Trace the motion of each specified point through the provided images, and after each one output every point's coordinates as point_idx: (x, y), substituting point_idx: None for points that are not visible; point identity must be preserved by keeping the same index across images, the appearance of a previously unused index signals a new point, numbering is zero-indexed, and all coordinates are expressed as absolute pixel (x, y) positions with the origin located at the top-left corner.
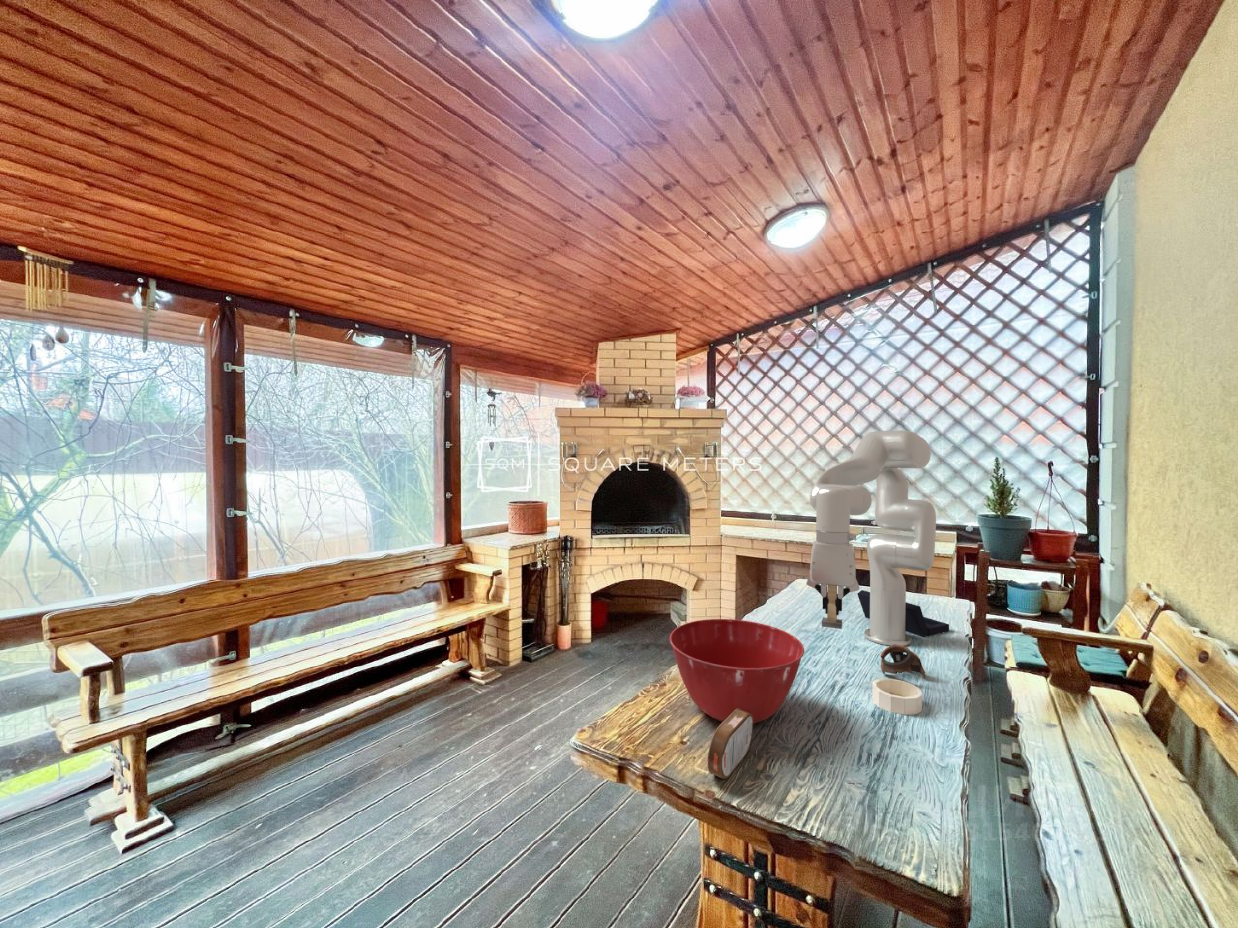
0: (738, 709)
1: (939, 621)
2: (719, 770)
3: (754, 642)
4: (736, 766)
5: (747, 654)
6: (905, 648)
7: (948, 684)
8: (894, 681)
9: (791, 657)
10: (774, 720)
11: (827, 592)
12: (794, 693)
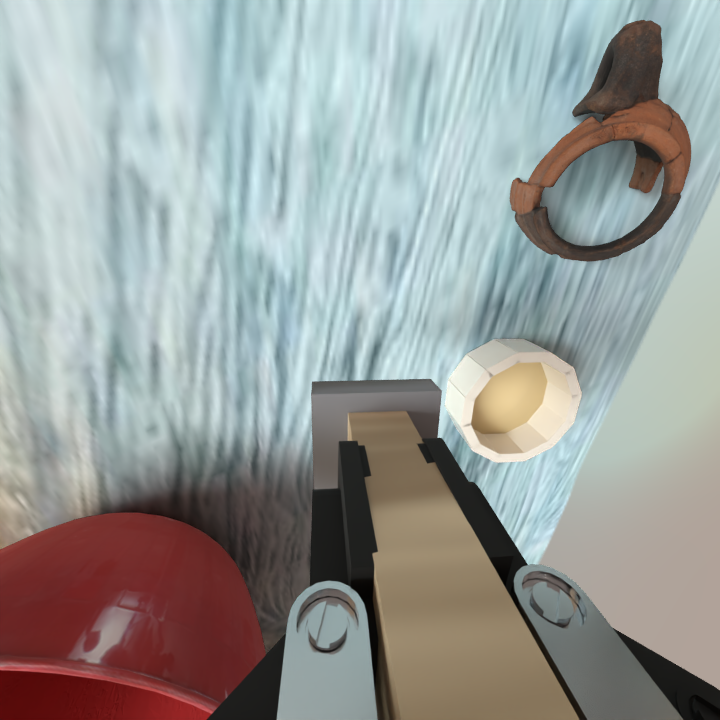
0: None
1: None
2: None
3: (43, 582)
4: None
5: (56, 548)
6: (672, 173)
7: (684, 193)
8: (527, 362)
9: (234, 641)
10: (243, 570)
11: (372, 656)
12: (255, 446)
